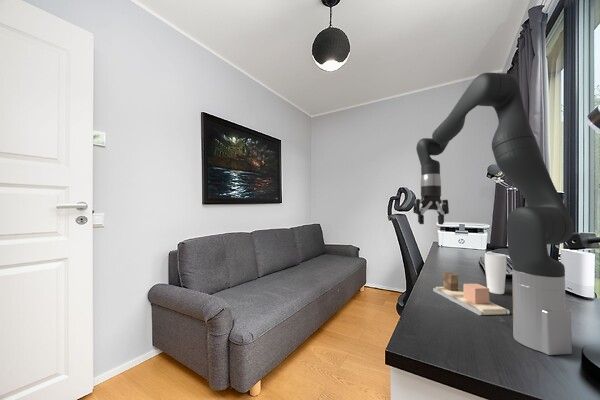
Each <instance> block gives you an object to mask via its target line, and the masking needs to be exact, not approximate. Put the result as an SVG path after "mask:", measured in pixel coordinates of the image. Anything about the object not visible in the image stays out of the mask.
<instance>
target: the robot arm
mask: <svg viewBox="0 0 600 400" xmlns="http://www.w3.org/2000/svg"><path fill="white" fill-rule="evenodd" d="M478 106H479V107H492V108H493V110H494V111H495V114H496V116H497V120H498V125H497V128H496V130H495V132H494V135H493V137H492V140H491V149H492V153H493V156H494V159H495V163H496V165H497V168H498V169H499V170H500V171H501V173H502V174H503V175H504V176H505V177H506V178H507V179H508V180H509V181H510V182H511V183H512V184H513V185H514V186H515V187H516V188H517V189H518V190H519V192H520V193H521V194H522V196H523V198H524V199H525V202H526V205H527V206H519V207H517V208H514V209H513V210H512V211H510V213H509V215H508V216H507V221H506V238H507V239H506V240H507V252H508V257H509V259H510V262H511V265H512V266H511V267H512V327H513V329H512V330H513V331H512V332H513V334H512V335H513V339H514V340H515V341H516V342H518V343H519V344H520V345H523V346H525V347H527V348H530V349H532V350H535V351H539V352H541V353H543V354H546V355H548V356H554V355H556V356H557V355H572V354H573V347H572V345H573V344H572V343H573V342H572V338H573V337H572V312H571V311H570V310H568V309H566V308H567V307H566V268H565V267H566V266H565V265H564V264H563V263H562V262H561V261H559V260H556V259H554V258H552V257H551V256H550V254H549V252H548V245H562V244H564V243H566V242H568V241H569V240H570V239H571V238H572V237H573V234H574V230H575V229H574V227H575V226H574V222H573V218H572V217H571V214H570V212H569V210H568V208H567V207H566V204H565V203H564V201H563V199H562V198H561V196H560V194H559V192H558V191H557V189H556V187H555V185H554V184H555V183H553V180H552V178H551V175H550V173H549V170H548V168H547V166H546V164H545V160H544V159H543V156H542V155H543V154H542V152H541V148H540V147H539V144H538V141H537V139H536V136H535V134H534V133H533V130H532V127H531V125H530V122H529V119H528V116H527V113H526V108H525V106H524V102H523V98H522V92H521V87H520V83H519V81H518V79H517V77H516V76H514V75H513V74H510V73H506V72H505V73H504V72H483V73H481V74H479V75H478V76H476V77H475V78H474V79H473V80H472V82H471V83H470V84H469V85H468V87H467V88H466V89H465V91H464V92H463V94H462V95H461V97H460V98H459V99H458V101H457V103H456V104H455V105H454V107H453V108H452V110H451V111H450V113H449V114H448V116H447V117H446V118H445V119H444V120H443V121H442V122H441V123H440V124H439V125H438V126H437V127H436V129H435V130H434V131H433V132H432V135H431V138H428V137H426V138H420V139H419V140H418V142H417V144H416V154H417V157H418V159H419V163H420V171H421V175H420V197H421V198H420V199H419V198H415V199H413V211H412V212H413V214H416V215H417V222H418V224H419V225H424V224H425V216H424V214H425V213H426V212H427V211H429V210H431V211H434V212H436V213H437V214H438V215H437V223H438V225H443V224H444V223H445V216H446V215H448V214H449V213H450V209H449V200H448V199H441V197H442V179H441V163H440V161H439V160H436V159H433V158H432V157H431V156H434V157H435V156H440V155H441V154H443V153H444V151H445V150H446V148H447V146H448V145H449V143H450V142H451V141H452V140H453V139H455V137H456V136H457V135H459V133H460V132H461V131H462V130H463V129H464V125H465V121H466V117H467V115H468V113H470V112H471V111H472V110H473V109H475V108H476V107H478Z"/></svg>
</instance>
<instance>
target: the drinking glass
mask: <svg viewBox="0 0 600 400" xmlns="http://www.w3.org/2000/svg"><path fill="white" fill-rule="evenodd" d="M484 270H485V278H486V287H487V288H489V293H491V294H495V295H503V294H504V295H505V285H506V275H507V274H506V273H507V255H506V254H504V253H499V252H498V253H497V252H485V253H484Z"/></svg>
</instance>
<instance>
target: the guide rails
mask: <svg viewBox="0 0 600 400" xmlns="http://www.w3.org/2000/svg"><path fill="white" fill-rule="evenodd" d="M458 288H459V287H458ZM432 289H433V290H432V291H433V292H434V293H436V294H438V295H440V296H442V297H444V298H446V299H448V300H449V301H451V302H453V303H456V304H457V305H459V306H461V307H463V308H464V309H466V310H469V311H470V312H473V313H475V314H476V315H478V316H482V311H480V310H478V309H476V308H474V307H472V306H470V305H468V304H466V303H464V302H462V301H460V300H458V299H456V298H454V297H452V296H450V295H448V294H446V293H444V292H442V291H440V290H438V289H436V287H433V288H432ZM459 289H461V290H463V288H459ZM490 302H491V301H490ZM491 303H493V302H491ZM493 304H495V303H493ZM499 306H500V305H499ZM500 307H502V306H500ZM502 308H504V307H502ZM505 309H506V314H505V315H510V313H511V312H510V309H507V308H505Z"/></svg>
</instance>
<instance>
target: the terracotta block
mask: <svg viewBox="0 0 600 400" xmlns="http://www.w3.org/2000/svg"><path fill="white" fill-rule="evenodd" d="M462 290H463V291H464V299H466V300H468V301H470V302H472V303H474V304H489V302H490V292H489V288H487V286H484V285H481V284H479V283H463V287H462Z"/></svg>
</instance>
